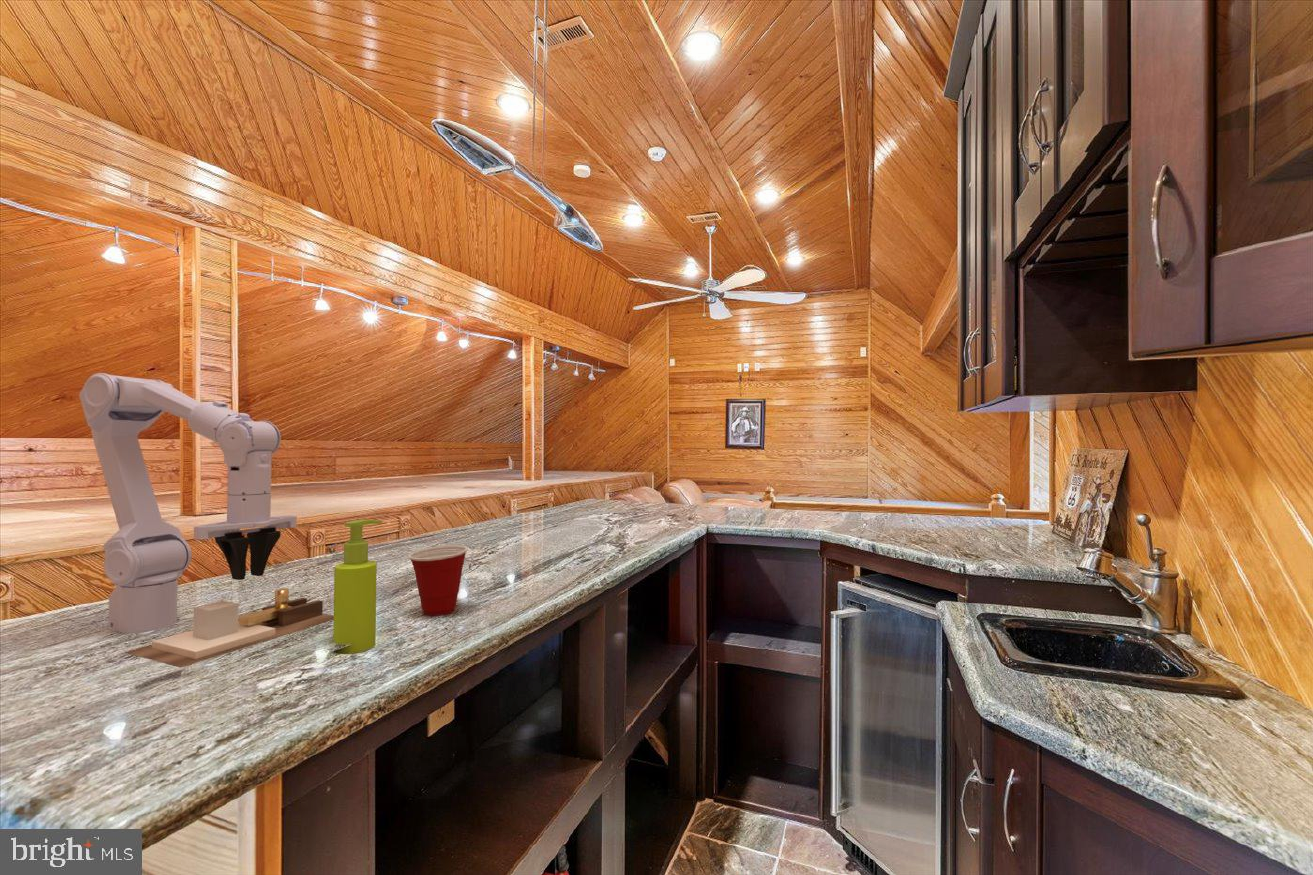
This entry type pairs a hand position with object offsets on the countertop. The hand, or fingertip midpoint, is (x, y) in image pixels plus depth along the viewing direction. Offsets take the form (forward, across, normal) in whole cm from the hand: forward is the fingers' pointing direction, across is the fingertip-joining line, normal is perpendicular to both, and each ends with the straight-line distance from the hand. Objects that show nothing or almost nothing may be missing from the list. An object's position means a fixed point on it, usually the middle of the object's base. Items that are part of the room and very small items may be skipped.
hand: (247, 577), depth 89 cm
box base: (+10, 0, 0) cm, 10 cm away
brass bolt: (+8, +3, 0) cm, 8 cm away
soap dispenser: (+11, +6, -18) cm, 22 cm away
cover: (+9, -4, 0) cm, 10 cm away
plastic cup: (+11, +24, -16) cm, 31 cm away
